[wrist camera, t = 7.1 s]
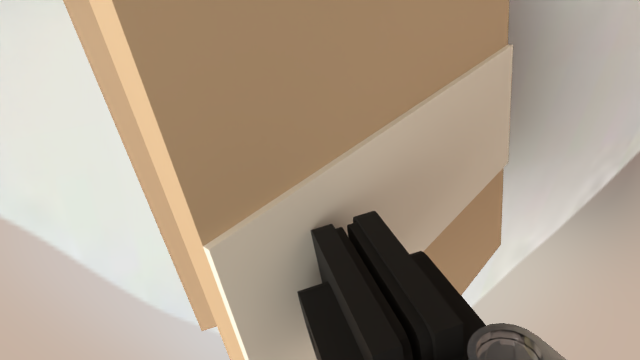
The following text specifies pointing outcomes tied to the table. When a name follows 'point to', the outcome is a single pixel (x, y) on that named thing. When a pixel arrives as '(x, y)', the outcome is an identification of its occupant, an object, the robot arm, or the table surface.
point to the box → (138, 153)
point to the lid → (316, 138)
